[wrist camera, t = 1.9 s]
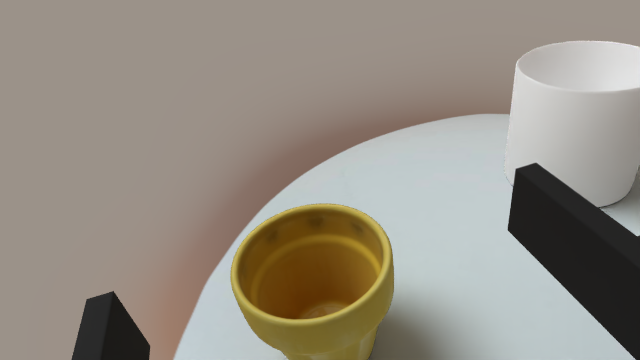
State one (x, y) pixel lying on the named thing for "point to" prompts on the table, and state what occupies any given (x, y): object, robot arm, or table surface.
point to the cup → (578, 117)
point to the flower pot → (315, 282)
